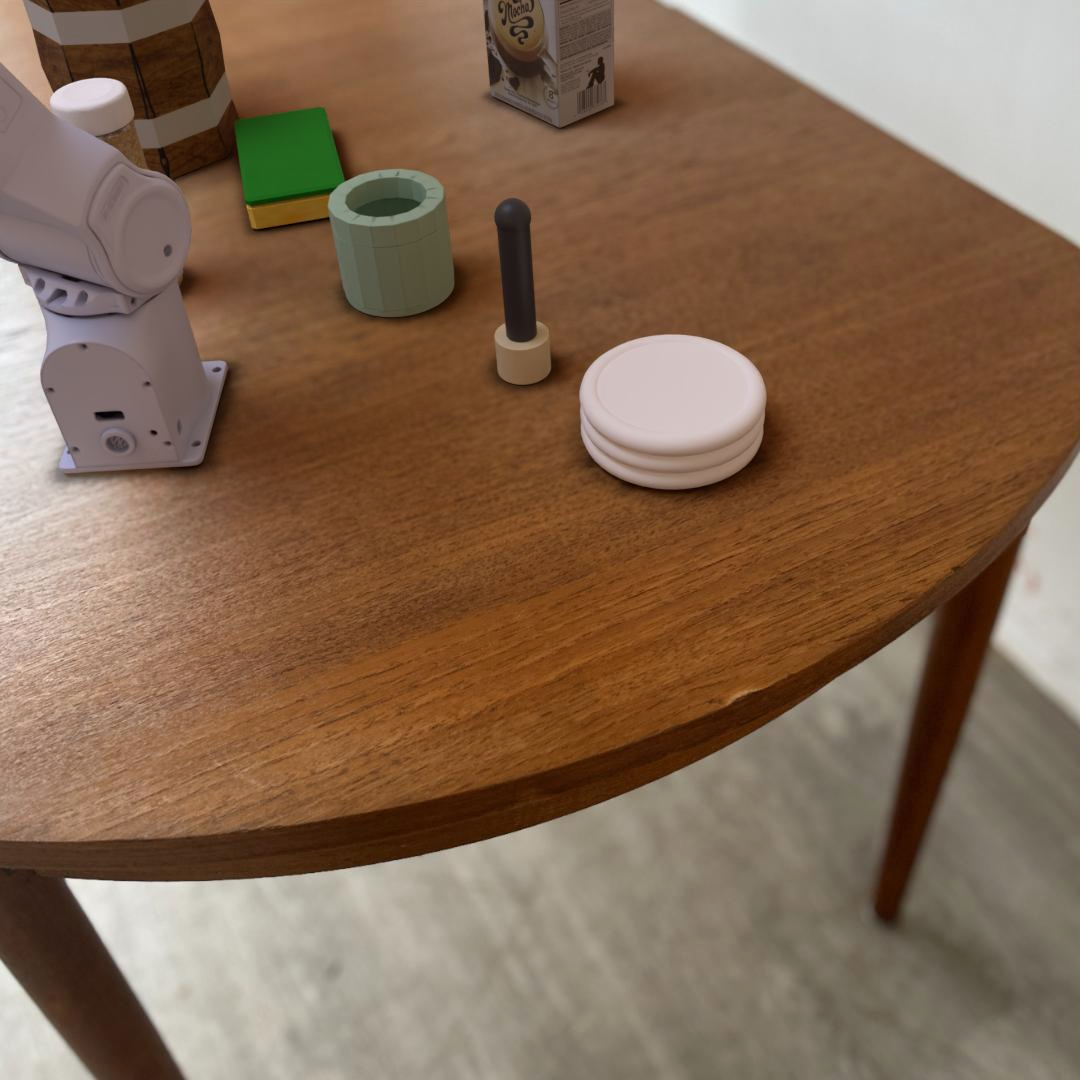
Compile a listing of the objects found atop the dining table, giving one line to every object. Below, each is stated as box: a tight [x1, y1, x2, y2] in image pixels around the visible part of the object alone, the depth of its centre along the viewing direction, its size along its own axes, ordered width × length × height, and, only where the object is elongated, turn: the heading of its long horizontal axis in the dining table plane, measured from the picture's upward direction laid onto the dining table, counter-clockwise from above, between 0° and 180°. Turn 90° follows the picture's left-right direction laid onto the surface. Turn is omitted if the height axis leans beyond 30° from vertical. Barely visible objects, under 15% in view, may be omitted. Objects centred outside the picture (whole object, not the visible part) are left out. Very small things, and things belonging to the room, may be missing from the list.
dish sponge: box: [234, 106, 346, 230], centre depth 89 cm, size 7×14×2 cm, turn 14°
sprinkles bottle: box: [49, 78, 184, 287], centre depth 75 cm, size 5×5×13 cm
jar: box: [328, 168, 456, 318], centre depth 76 cm, size 7×7×6 cm
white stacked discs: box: [578, 334, 768, 491], centre depth 65 cm, size 10×10×4 cm
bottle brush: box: [493, 197, 552, 386], centre depth 67 cm, size 3×3×11 cm
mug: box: [22, 0, 241, 180], centre depth 93 cm, size 20×14×15 cm
